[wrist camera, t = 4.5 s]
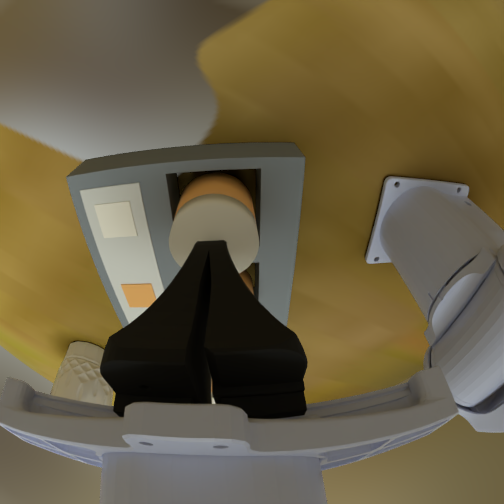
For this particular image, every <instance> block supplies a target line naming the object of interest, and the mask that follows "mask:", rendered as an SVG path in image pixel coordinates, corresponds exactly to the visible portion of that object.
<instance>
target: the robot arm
mask: <svg viewBox="0 0 504 504" xmlns="http://www.w3.org/2000/svg"><path fill="white" fill-rule="evenodd" d="M396 182H398V183H397V185H395V186H394V184H395V183H396ZM457 189H458V190H457ZM468 192H469V187H468V186H467V185H466V184H460V183H452V182H444V181H436V180H427V179H417V178H406V177H394V176H390V177H387V178H386V179H385V181H384V185H383V190H382V194H381V199H380V203H379V207H378V211H377V216H376V220H375V224H374V227H373V231H372V235H371V239H370V242H369V246H368V250H367V253H366V256H365V260H366V262H367V263H368V264H373V263H387V262H392V263H393V265H394V266H395V268H396V269H397V271H398V272H399V274H400V276H401V277H402V279H403V281H404V282H405V284H406V285H407V287H408V289H409V290H410V292H411V294H412V295H413V297H414V299H415V301H416V302H417V304H418V306H419V307H420V309H421V311H422V313H423V315H424V316H425V318H426V320H427V322H428V324H429V325H428V328H427V329H426V331H425V332H424V335H425V337H426V339H427V341H428V343H429V345H430V346H429V347H428V349H427V351H426V353H425V356H424V364H423V365H424V370H422V371H419V372H417V373H416V374H414V375H413V376H412V377H411V378H410V379H409V381H408V382H407V383H404V384H400V385H397V386H393V387H389V388H386V389H382V390H378V391H374V392H369V393H365V394H361V395H356V396H351V397H347V398H341V399H336V400H331V401H325V402H319V403H312V404H306V401H305V396H304V390H305V387H304V382H303V378H304V375H305V372H306V368H307V358H306V355H305V352H304V349H303V347H302V345H301V343H300V341H299V339H298V337H297V335H296V334H295V333H294V332H293V331H292V330H290V329H289V328H287V327H286V326H285V325H284V324H282V323H281V322H280V321H279V320H278V319H276V318H275V317H274V316H273V315H272V314H271V313H270V312H269V311H268V310H267V309H266V308H265V307H264V306H263V305H262V304H261V303H260V302H259V301H258V299H257V298H256V297H255V296H254V295H253V293H252V292H251V291H250V290H249V288H248V287H247V285H246V284H245V282H244V281H243V279H242V278H241V276H240V274H239V273H238V271H237V269H236V267H235V265H234V263H233V261H232V259H231V256H230V254H229V251H228V247H227V242H226V241H225V240H214V241H197V242H196V243H195V245H194V247H193V249H192V251H191V252H190V254H189V256H188V258H187V259H186V261H185V263H184V264H183V266H182V267H181V269H180V270H179V272H178V273H177V275H176V276H175V277H174V279H173V280H172V282H171V283H170V284H169V285H168V287H167V288H166V289H165V290H164V292H163V293H162V294H161V295H160V296H159V297H158V298H157V299H156V300H155V301H154V302H153V303H152V304H151V306H150V307H149V308H147V309H146V310H145V311H144V312H143V313H142V314H141V315H140V316H138V317H137V318H136V319H135V320H133V321H132V322H131V323H130V324H128V325H127V326H125V327H124V328H122V329H121V330H119V331H118V332H116V333H115V334H113V335H112V336H110V337H109V339H108V342H107V344H106V347H105V350H104V353H103V357H102V361H101V365H100V374H101V375H102V377H103V378H104V380H105V381H106V382H107V383H108V384H109V386H110V387H111V388H112V389H113V390H114V391H115V393H116V395H115V401H114V406H108V405H101V404H95V403H89V402H83V401H77V400H72V399H67V398H62V397H58V396H53V395H49V394H45V393H41V392H37V391H35V390H34V389H33V388H32V387H31V386H30V385H29V384H27V383H26V382H24V381H22V380H18V379H14V378H11V377H7V380H6V383H5V386H4V389H3V392H2V395H1V398H0V426H2V427H4V428H5V429H6V430H8V431H9V432H11V433H12V434H14V435H16V436H17V437H19V438H20V439H22V440H24V441H26V442H28V443H30V444H32V445H35V446H38V447H40V448H43V449H46V450H48V451H51V452H54V453H56V454H59V455H62V456H65V457H68V458H71V459H74V460H77V461H80V462H83V463H87V464H90V465H94V466H98V467H101V468H102V475H101V490H100V504H327V500H326V494H325V488H324V482H323V477H322V470H326V469H330V468H334V467H338V466H342V465H345V464H349V463H352V462H356V461H359V460H362V459H365V458H368V457H372V456H375V455H377V454H380V453H383V452H386V451H388V450H391V449H394V448H397V447H399V446H402V445H404V444H407V443H409V442H412V441H414V440H417V439H419V438H422V437H424V436H426V435H429V434H431V433H432V432H433V431H435V430H436V429H438V428H439V427H441V426H442V425H444V424H445V423H446V422H448V421H449V420H451V419H452V418H453V417H455V416H456V415H457V414H460V415H461V416H463V417H464V418H465V419H467V420H468V421H469V423H470V424H471V425H472V426H473V428H474V429H475V430H476V431H479V432H504V230H503V229H502V228H501V227H499V226H498V225H497V224H496V223H495V222H494V221H493V220H492V219H491V218H490V217H489V216H488V215H487V214H486V213H485V212H483V211H482V210H481V209H480V208H479V207H478V206H477V205H476V204H474V203H473V202H472V201H471V200H470V199H469V198H467V196H468ZM376 257H377V258H376ZM211 377H212V396H211ZM212 397H213V398H214V400H215V404H212Z"/></svg>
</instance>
